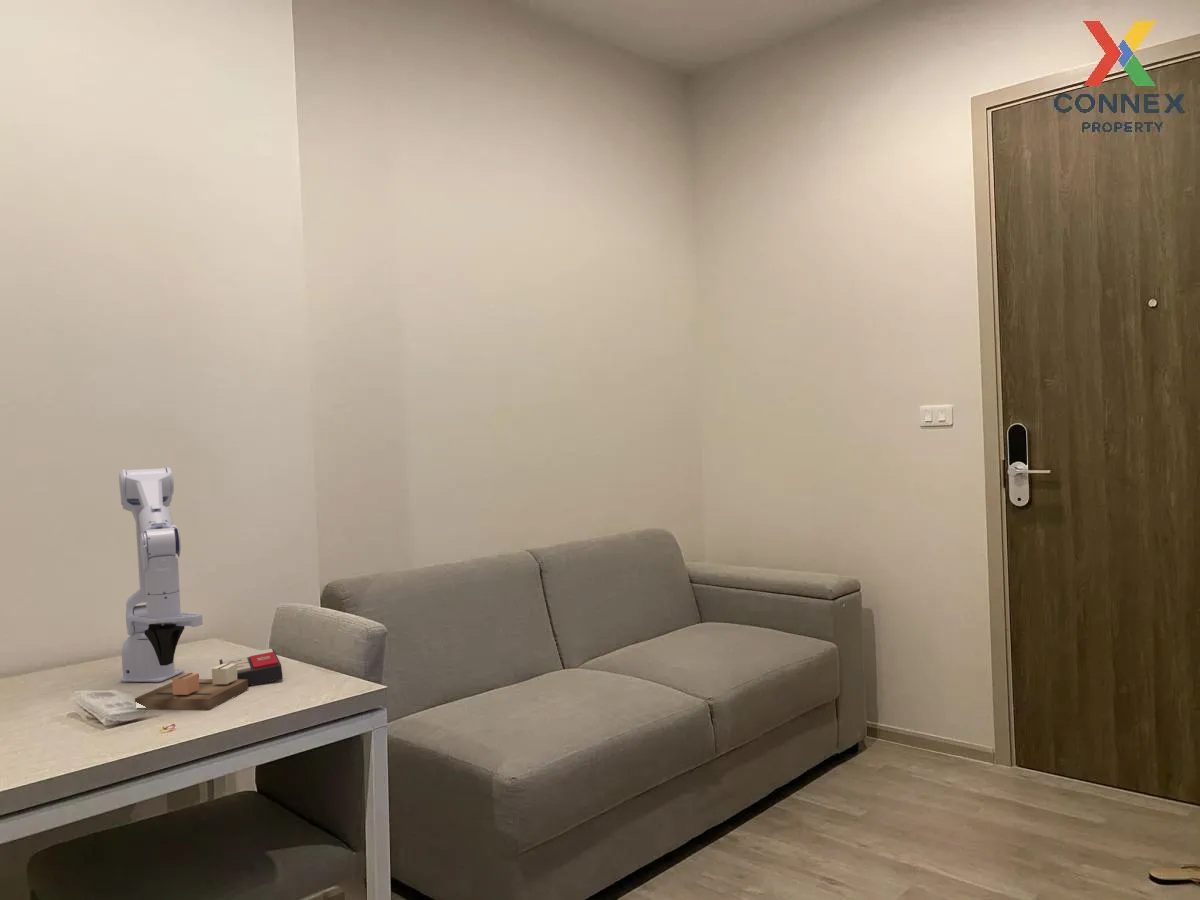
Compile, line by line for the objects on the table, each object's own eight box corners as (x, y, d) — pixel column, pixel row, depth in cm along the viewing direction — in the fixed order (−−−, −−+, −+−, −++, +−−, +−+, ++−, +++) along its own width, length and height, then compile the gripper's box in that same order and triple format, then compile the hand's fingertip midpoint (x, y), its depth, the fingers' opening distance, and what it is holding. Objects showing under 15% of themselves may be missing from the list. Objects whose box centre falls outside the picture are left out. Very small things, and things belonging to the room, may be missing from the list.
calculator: (222, 672, 178) (218, 655, 191) (225, 694, 178) (221, 675, 191) (281, 661, 182) (273, 645, 196) (283, 681, 183) (275, 665, 196)
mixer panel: (135, 709, 167) (134, 697, 167) (179, 688, 180) (178, 678, 180) (208, 710, 165) (208, 698, 165) (248, 689, 178) (247, 678, 178)
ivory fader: (212, 684, 174) (211, 668, 174) (223, 678, 177) (222, 663, 177) (226, 684, 173) (226, 668, 173) (237, 679, 177) (236, 663, 177)
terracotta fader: (172, 694, 167) (172, 678, 167) (185, 689, 171) (184, 672, 171) (187, 694, 167) (186, 678, 167) (199, 689, 170) (198, 672, 170)
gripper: (113, 596, 166) (117, 669, 167) (184, 596, 164) (188, 670, 164) (138, 589, 173) (142, 659, 174) (207, 588, 171) (211, 660, 171)
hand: (166, 664), depth 169 cm, fingers closed
